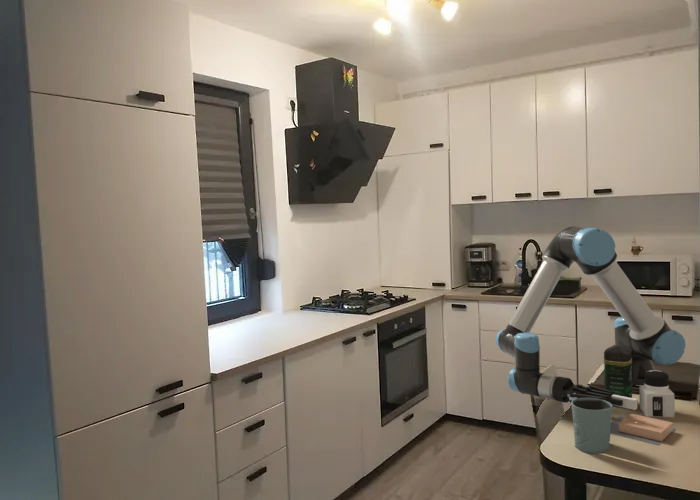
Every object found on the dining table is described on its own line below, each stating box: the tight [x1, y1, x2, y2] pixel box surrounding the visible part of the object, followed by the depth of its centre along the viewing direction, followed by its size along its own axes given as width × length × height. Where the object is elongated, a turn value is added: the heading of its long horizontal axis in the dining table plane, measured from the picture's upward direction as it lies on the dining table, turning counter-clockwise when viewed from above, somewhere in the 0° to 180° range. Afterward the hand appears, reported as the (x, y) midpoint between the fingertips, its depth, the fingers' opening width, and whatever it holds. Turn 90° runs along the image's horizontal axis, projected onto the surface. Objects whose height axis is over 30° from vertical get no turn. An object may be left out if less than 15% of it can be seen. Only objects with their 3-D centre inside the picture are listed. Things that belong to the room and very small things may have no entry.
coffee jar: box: [603, 344, 633, 408], centre depth 185 cm, size 10×8×19 cm
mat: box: [610, 416, 677, 446], centre depth 163 cm, size 14×16×1 cm
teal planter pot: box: [570, 398, 613, 455], centre depth 155 cm, size 10×10×12 cm
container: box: [638, 369, 676, 418], centre depth 175 cm, size 8×8×13 cm
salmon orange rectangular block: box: [619, 413, 674, 441], centre depth 162 cm, size 9×3×11 cm
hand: (636, 404), depth 163 cm, fingers closed
